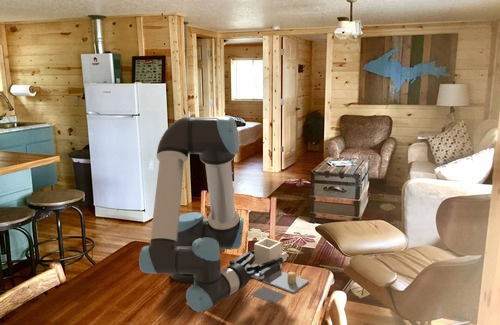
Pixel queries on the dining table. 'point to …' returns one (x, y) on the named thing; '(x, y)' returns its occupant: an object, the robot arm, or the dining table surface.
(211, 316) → the dining table surface
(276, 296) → the mat
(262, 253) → the sleeve
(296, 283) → the pin board
